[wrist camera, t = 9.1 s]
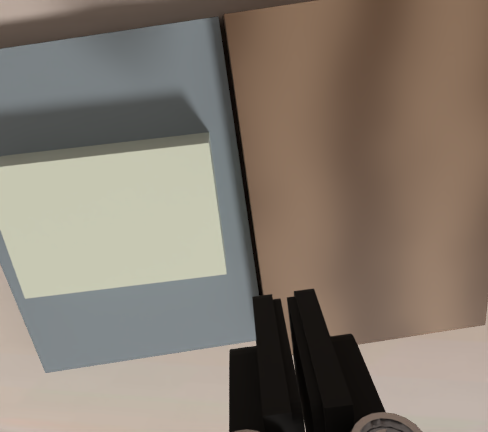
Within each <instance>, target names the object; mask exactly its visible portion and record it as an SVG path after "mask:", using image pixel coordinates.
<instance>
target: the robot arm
mask: <svg viewBox="0 0 488 432" xmlns="http://www.w3.org/2000/svg"><path fill="white" fill-rule="evenodd" d="M252 299H253V310H254V322H255V333H256V345H257V346H253V347H245V348H238V349H230V361H229V432H305V428H306V432H422V431H421V430H420V429H419V428H418V427H417V425H416V424H414V423H413V422H411V421H410V420H408V419H407V418H405V417H402V416H399V415H397V414H393V413H386V412H385V410H384V407H383V405H382V403H381V400H380V398H379V395H378V393H377V391H376V388H375V386H374V383H373V381H372V379H371V376H370V374H369V371H368V369H367V367H366V364H365V362H364V359H363V357H362V355H361V352H360V350H359V348H358V345H357V343H356V340H355V338H354V336H353V335H352V334H344V335H336V336H330V334H329V331H328V328H327V325H326V322H325V319H324V316H323V313H322V311H321V308H320V305H319V302H318V299H317V296H316V293H315V290H314V289H306V290H298V291H294V297H287V305H288V314H289V322H290V331H291V339H292V348H293V356H294V364H293V359H292V354H291V349H290V344H289V339H288V333H287V328H286V323H285V318H284V313H283V308H282V303H281V298H279V299H273V297H272V294H269V295H261V296H254V297H252ZM294 365H295V369H294ZM295 373H296V374H295ZM303 418H304V419H303ZM304 423H305V427H304Z"/></svg>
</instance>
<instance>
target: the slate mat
mask: <svg viewBox="0 0 488 432" xmlns="http://www.w3.org/2000/svg"><path fill="white" fill-rule="evenodd" d="M207 132H209V134H210V141H211V149H212V156H213V163H214V171H215V178H216V186H217V193H218V201H219V208H220V216H221V223H222V231H223V238H224V246H225V253H226V272H227V274H225V275H216V276H208V277H200V278H192V279H184V280H175V281H167V282H159V283H151V284H143V285H134V286H126V287H118V288H110V289H101V290H93V291H85V292H77V293H69V294H60V295H52V296H44V297H36V298H27V299H25V297H24V295H23V292H22V289H21V286H20V284H19V281H18V278H17V275H16V272H15V270H14V267H13V264H12V261H11V259H10V256H9V253H8V250H7V247H6V245H5V242H4V239H3V236H2V233H1V231H0V264H1V267H2V269H3V271H4V274H5V276H6V279H7V281H8V284H9V286H10V288H11V291H12V293H13V296H14V298H15V300H16V303H17V305H18V308H19V310H20V312H21V315H22V317H23V320H24V322H25V325H26V327H27V329H28V332H29V334H30V337H31V339H32V341H33V344H34V346H35V349H36V351H37V353H38V356H39V358H40V361H41V363H42V365H43V368H44V370H45V373H49V372H55V371H62V370H68V369H75V368H81V367H88V366H94V365H101V364H107V363H114V362H120V361H127V360H133V359H140V358H146V357H153V356H159V355H166V354H172V353H179V352H185V351H191V350H198V349H204V348H211V347H217V346H224V345H230V344H237V343H243V342H250V341H256V333H255V322H254V310H253V299H252V297H254V296H259V292H258V285H257V278H256V271H255V264H254V258H253V251H252V244H251V237H250V230H249V223H248V216H247V210H246V203H245V196H244V189H243V182H242V175H241V168H240V161H239V155H238V148H237V141H236V134H235V127H234V120H233V113H232V107H231V100H230V93H229V86H228V79H227V72H226V65H225V58H224V52H223V45H222V38H221V31H220V24H219V17H212V18H205V19H198V20H191V21H185V22H178V23H171V24H165V25H158V26H151V27H144V28H138V29H131V30H124V31H118V32H111V33H104V34H97V35H91V36H84V37H77V38H70V39H64V40H57V41H50V42H44V43H37V44H30V45H23V46H17V47H10V48H3V49H0V157H1V156H6V155H15V154H23V153H32V152H41V151H50V150H58V149H67V148H76V147H84V146H93V145H102V144H111V143H119V142H128V141H137V140H145V139H154V138H163V137H172V136H180V135H189V134H198V133H207Z"/></svg>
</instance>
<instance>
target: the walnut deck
mask: <svg viewBox="0 0 488 432" xmlns="http://www.w3.org/2000/svg"><path fill="white" fill-rule="evenodd" d="M223 21H224V28H225V35H226V42H227V49H228V56H229V63H230V70H231V77H232V84H233V92H234V99H235V106H236V113H237V120H238V127H239V134H240V141H241V148H242V155H243V162H244V169H245V176H246V183H247V190H248V197H249V204H250V211H251V218H252V225H253V232H254V240H255V247H256V254H257V261H258V268H259V275H260V282H261V289H262V295H269V294H272V297H273V299H279V298H281V303H282V308H283V313H284V318H285V323H286V328H287V333H288V339H289V344H290V349H291V354H292V355H293V348H292V339H291V331H290V322H289V314H288V305H287V297H294V291H298V290H306V289H314V290H315V293H316V296H317V299H318V302H319V305H320V308H321V311H322V313H323V316H324V319H325V322H326V325H327V328H328V331H329V334H330V336H336V335H344V334H352V335H353V336H354V338H355V340H356V343H357V345H358V344H365V343H371V342H377V341H384V340H390V339H397V338H403V337H410V336H416V335H423V334H429V333H436V332H442V331H449V330H455V329H462V328H468V327H475V326H481V325H485V321H486V312H487V302H488V0H316V1H309V2H302V3H296V4H289V5H282V6H275V7H269V8H262V9H255V10H249V11H242V12H235V13H228V14H224V16H223Z"/></svg>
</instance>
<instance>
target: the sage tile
mask: <svg viewBox="0 0 488 432" xmlns="http://www.w3.org/2000/svg"><path fill="white" fill-rule="evenodd" d="M0 231H1V233H2V236H3V239H4V242H5V245H6V247H7V250H8V253H9V256H10V259H11V261H12V264H13V267H14V270H15V272H16V275H17V278H18V281H19V284H20V286H21V289H22V292H23V295H24V297H25V299H27V298H36V297H44V296H52V295H60V294H69V293H77V292H85V291H93V290H101V289H110V288H118V287H126V286H134V285H143V284H151V283H159V282H167V281H175V280H184V279H192V278H200V277H208V276H216V275H225V274H227V272H226V253H225V246H224V238H223V231H222V223H221V216H220V208H219V201H218V193H217V186H216V178H215V171H214V163H213V156H212V149H211V141H210V134H209V132H207V133H198V134H189V135H180V136H172V137H163V138H154V139H145V140H137V141H128V142H119V143H111V144H102V145H93V146H84V147H76V148H67V149H58V150H50V151H41V152H32V153H23V154H15V155H6V156H1V157H0Z"/></svg>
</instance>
